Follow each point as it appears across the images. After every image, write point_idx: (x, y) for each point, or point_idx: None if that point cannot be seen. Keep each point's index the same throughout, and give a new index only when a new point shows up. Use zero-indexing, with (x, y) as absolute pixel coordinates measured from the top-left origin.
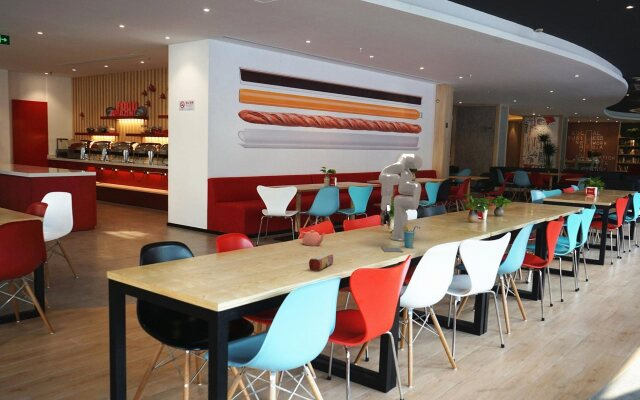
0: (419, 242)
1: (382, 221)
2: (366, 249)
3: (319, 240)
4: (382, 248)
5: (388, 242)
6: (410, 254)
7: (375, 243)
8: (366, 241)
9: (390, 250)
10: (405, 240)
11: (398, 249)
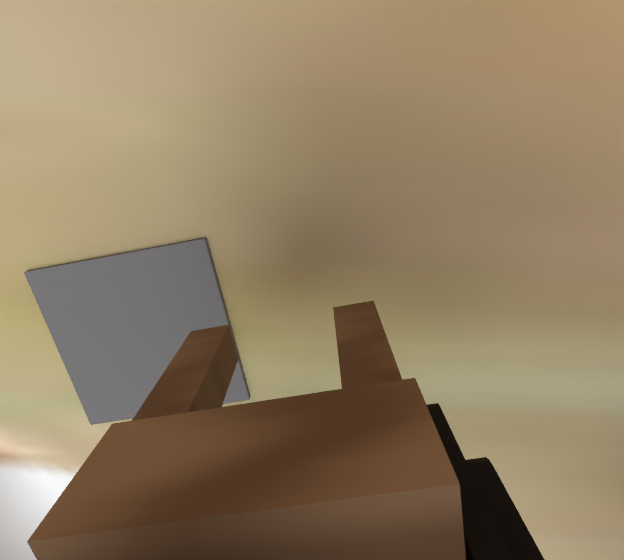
0: (604, 548)
1: (156, 397)
2: (43, 76)
3: None
4: (149, 253)
5: (557, 312)
6: (29, 464)
7: (463, 177)
8: (579, 62)
9: (82, 324)
10: None
11: None
